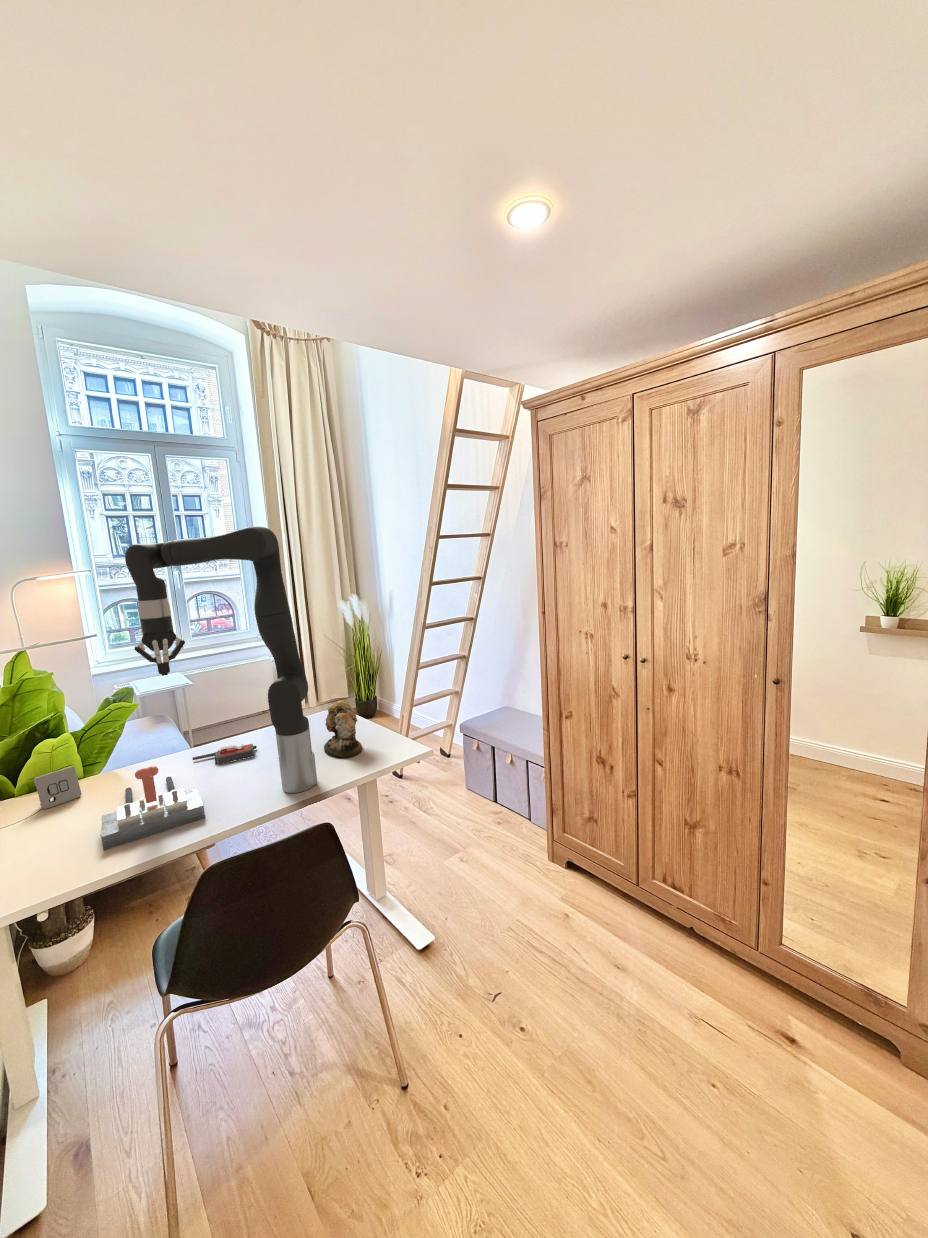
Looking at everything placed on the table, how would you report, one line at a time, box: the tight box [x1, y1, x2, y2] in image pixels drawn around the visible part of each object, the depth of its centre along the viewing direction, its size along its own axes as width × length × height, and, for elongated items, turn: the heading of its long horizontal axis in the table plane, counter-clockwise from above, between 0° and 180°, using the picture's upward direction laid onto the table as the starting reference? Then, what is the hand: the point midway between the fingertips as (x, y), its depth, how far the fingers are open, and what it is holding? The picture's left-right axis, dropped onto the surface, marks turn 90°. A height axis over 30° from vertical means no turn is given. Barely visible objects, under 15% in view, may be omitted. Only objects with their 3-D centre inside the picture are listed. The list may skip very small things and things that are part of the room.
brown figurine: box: [323, 700, 363, 759], centre depth 171 cm, size 18×12×17 cm, turn 38°
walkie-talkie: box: [191, 743, 258, 765], centre depth 169 cm, size 9×4×20 cm
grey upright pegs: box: [125, 776, 175, 804], centre depth 144 cm, size 13×20×3 cm, turn 35°
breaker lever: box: [134, 765, 160, 804], centre depth 126 cm, size 5×2×12 cm
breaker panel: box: [100, 788, 206, 851], centre depth 130 cm, size 22×12×8 cm, turn 125°
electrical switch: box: [33, 766, 82, 810], centre depth 145 cm, size 9×5×9 cm, turn 141°
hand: (164, 674), depth 144 cm, fingers closed
